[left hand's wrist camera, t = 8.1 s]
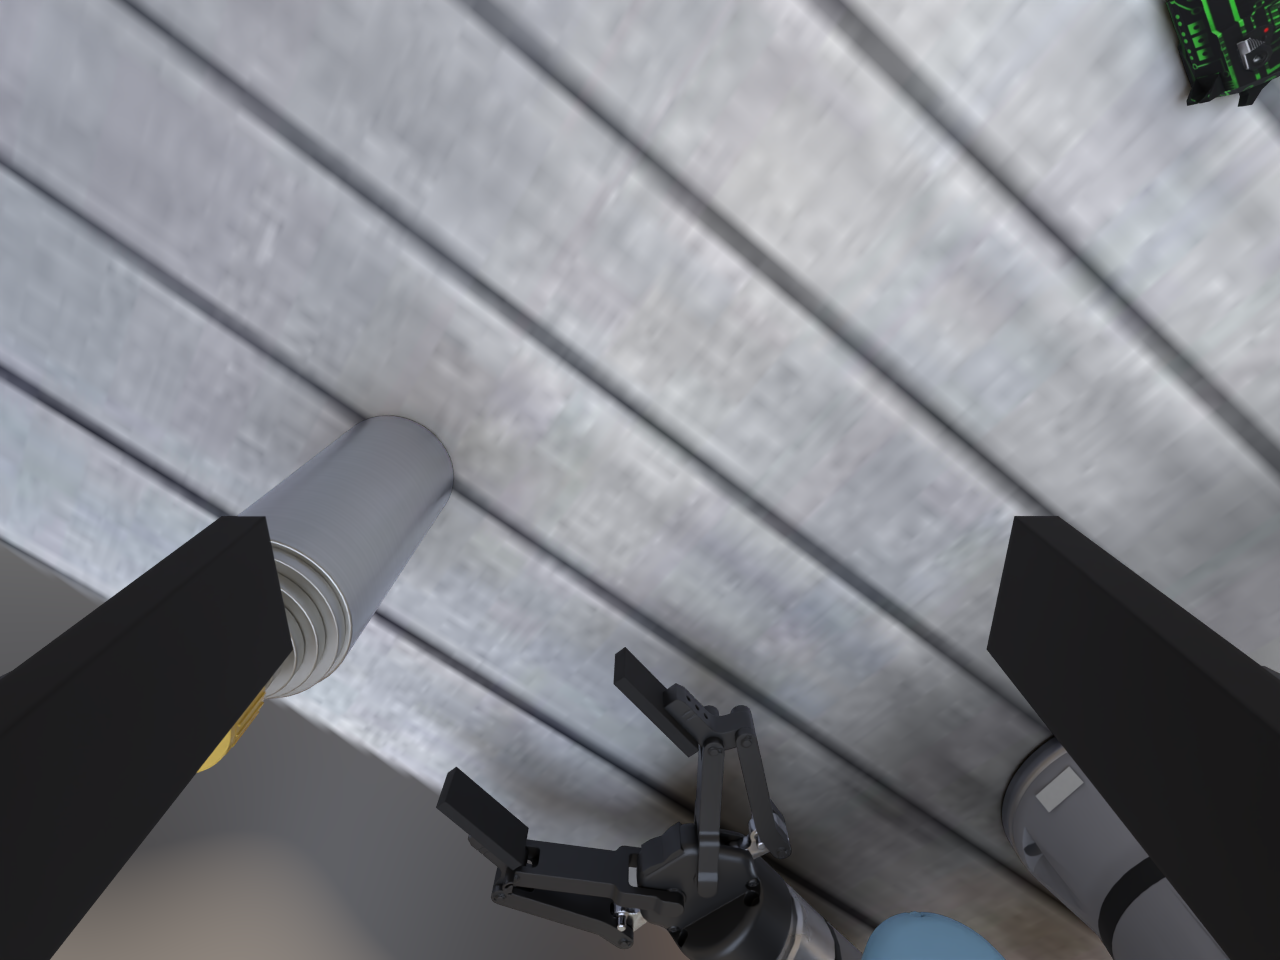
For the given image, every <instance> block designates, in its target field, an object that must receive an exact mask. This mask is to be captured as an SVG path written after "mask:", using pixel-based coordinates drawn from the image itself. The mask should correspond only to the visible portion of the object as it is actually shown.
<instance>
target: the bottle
mask: <svg viewBox="0 0 1280 960" xmlns="http://www.w3.org/2000/svg"><path fill="white" fill-rule="evenodd" d="M453 480H454V476H453V467H452V463H451V460H450V457H449V455H448V453H447V451H446V449H445V447H444V446H443V444H442V443H441V442H440V441H439V439H438V438H437V437H436V436H435V435H434V434H433V433H432V432H430V431H429V430H428V429H426V428H425V427H424V426H422V425H420V424H418V423H416V422H414V421H412V420H409V419H406V418H402V417H397V416H377V417H373V418H369V419H366V420H364V421H362V422H360V423H358V424H356V425H355V426H354V427H352V428H351V429H350V430H348V431H347V432H346V433H345V434H343V435H342V436H341V437H339V438H338V439H337V440H335V441H334V442H333V443H332V444H330V445H329V446H328V447H326V448H325V449H324V450H322V451H321V452H320V453H319V454H317V455H316V456H315V457H313V458H312V459H311V460H309V461H308V462H307V463H305V464H304V465H303V466H302V467H300V468H299V469H298V470H296V471H295V472H294V473H292V474H291V475H290V476H289V477H287V478H286V479H285V480H283V481H282V482H281V483H279V484H278V485H277V486H276V487H274V488H273V489H272V490H270V491H269V492H268V493H266V494H265V495H264V496H263V497H261V498H260V499H259V500H257V501H256V502H255V503H253V504H252V505H251V506H250V507H248V508H247V509H246V510H244V511H243V512H242V513H240V514H239V515H238V516H266V521H267V526H268V530H269V535H270V540H271V545H272V549H273V554H274V559H275V564H276V569H277V573H278V578H279V583H280V588H281V593H282V597H283V602H284V607H285V612H286V617H287V621H288V626H289V631H290V636H291V640H292V645H293V650H292V652H291V653H290V654H289V656H288V657H287V658H286V659H285V661H284V662H283V663H282V664H281V666H280V667H279V668H278V670H277V671H276V672H275V673H274V675H273V676H272V677H271V678H270V680H269V681H268V682H267V684H266V685H265V692H266V694H265V695H264V699H271V698H282V697H287V696H291V695H295V694H298V693H300V692H303V691H305V690H307V689H309V688H311V687H312V686H314V685H315V684H317V683H318V682H320V681H322V680H324V679H325V678H327V677H328V676H330V675H331V674H332V673H333V672H334V671H335V670H336V669H337V668H338V667H339V666H340V664H341V663H342V662H343V660H344V659H345V657H346V656H347V654H348V653H349V651H350V650H351V648H352V647H353V645H354V644H355V642H356V640H357V639H358V637H359V636H360V634H361V633H362V631H363V630H364V628H365V627H366V625H367V624H368V622H369V621H370V619H371V617H372V616H373V614H374V613H375V611H376V610H377V608H378V607H379V605H380V604H381V602H382V601H383V599H384V598H385V596H386V595H387V593H388V591H389V590H390V588H391V587H392V585H393V584H394V582H395V581H396V579H397V578H398V576H399V575H400V573H401V572H402V570H403V568H404V567H405V565H406V564H407V562H408V561H409V559H410V558H411V556H412V555H413V553H414V552H415V550H416V549H417V547H418V546H419V544H420V542H421V541H422V539H423V538H424V536H425V535H426V533H427V532H428V530H429V529H430V527H431V526H432V524H433V523H434V521H435V519H436V518H437V516H438V515H439V513H440V512H441V510H442V509H443V507H444V506H445V504H446V502H447V501H448V499H449V497H450V494H451V492H452V488H453Z"/></svg>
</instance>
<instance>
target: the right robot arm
mask: <svg viewBox="0 0 1280 960" xmlns="http://www.w3.org/2000/svg"><path fill="white" fill-rule="evenodd" d="M614 685H615V686H616V687H617V688H618V689H619V690H620V691H621V692H622V693H623V694H624V695H625V696H626V697H627V698H629V699H630V700H631V701H632V702H633V703H634V704H635V705H636V706H637V707H638V708H639V709H640V710H641V711H642V712H643V713H644V714H645V715H646V716H647V717H648V718H649V719H650V720H651V721H652V722H653V723H654V724H655V725H656V726H657V727H658V728H659V729H660V730H661V731H662V732H663V733H664V734H665V735H666V736H667V737H668V738H669V739H670V740H671V741H672V742H673V743H674V744H675V745H676V746H677V747H678V748H680V749H681V750H682V751H683V752H684V753H685V754H686V755H687V756H688V757H690V756H691V755H693V754H695V753H696V752H698V751H699V753H698V773H697V793H696V800H695V816H694V824H693V823H688V824H683V825H682V824H681V823H680V822H678V823H676V824H675V825H673V826H671V827H670V828H669V829H668V830H667V831H666V832H665V833H664V834H663V835H662V836H659V837H656V838H653V839H650V840H649V841H647V842H646V843H644V844H642V845H641V848H638V847H630V846H621V847H619V848H618V849H617V850H616V851H611V850H603V849H596V848H588V847H580V846H573V845H565V844H557V843H550V842H542V841H535V840H527V834H528V827H527V826H526V825H524V824H523V823H522V822H521V821H520V820H519V819H517V818H516V817H515V816H514V815H513V814H511V813H510V812H509V811H508V810H507V809H506V808H504V807H503V806H502V805H501V804H500V803H499V802H497V801H496V800H495V799H494V798H493V797H491V796H490V795H489V794H488V793H487V792H486V791H484V790H483V789H482V788H481V787H480V786H479V785H477V784H476V783H475V782H474V781H473V780H471V779H470V778H469V777H468V776H467V775H466V774H464V773H463V772H462V771H461V770H460V769H459V768H457V767H455V768H454V769H453V770H451V771H450V772H448V774H447V777H446V780H445V783H444V786H443V788H442V791H441V794H440V797H439V800H438V803H437V806H436V808H437V809H438V810H440V811H441V812H442V813H443V814H445V815H446V816H447V817H448V818H450V819H451V820H452V821H453V822H454V823H456V824H457V825H458V826H459V827H461V828H462V829H463V830H464V831H465V832H467V833H468V834H469V837H468V840H469V842H470V844H471V845H472V846H473V847H474V848H475V849H476V850H479V852H480V853H481V854H483V855H484V856H485V857H486V858H487V859H489V860H490V861H491V862H492V863H494V864H495V865H496V866H497V867H498V868H497V871H496V876H495V881H494V885H493V891H492V895H491V899H492V901H493V902H495V903H497V904H499V905H503V906H506V907H509V908H512V909H516V910H519V911H522V912H526V913H529V914H532V915H536V916H539V917H542V918H545V919H549V920H552V921H555V922H558V923H561V924H565V925H568V926H572V927H575V928H578V929H581V930H584V931H588V932H591V933H594V934H598V935H600V936H601V937H603V938H604V939H606V940H607V941H609V942H610V943H612V944H613V945H615V946H616V947H618V948H620V949H628V948H630V947H631V946H632V945H633V932H634V931H635V930H637V929H638V928H639V927H641V926H642V925H643V924H645V923H646V922H647V921H648V922H649V923H652V924H655V925H659V926H661V927H664V928H665V929H667V930H668V932H669V933H670V935H671V936H672V938H673V939H674V941H675V942H676V944H677V945H678V947H679V948H680V950H681V951H682V952H683V953H684V954H685V955H686V956H687V957H688V958H689V959H690V960H1005V958H1004V957H1003V956H1002V955H1001V954H1000V953H999V952H998V951H997V950H996V949H995V948H994V947H993V946H992V945H991V944H990V943H989V942H988V941H987V940H986V939H984V938H983V937H982V936H981V935H979V934H978V933H976V932H975V931H974V930H972V929H971V928H969V927H967V926H965V925H964V924H962V923H960V922H958V921H955V920H953V919H951V918H948V917H946V916H943V915H939V914H935V913H929V912H915V911H914V912H911V913H901V914H897V915H894V916H892V917H889V918H888V919H886V920H885V921H883V922H882V923H881V924H880V925H879V926H878V927H877V928H876V929H875V930H874V931H873V933H872V934H871V936H870V938H869V940H868V942H867V945H866V947H865V950H864V953H863V954H862V953H861V952H860V951H859V950H858V949H857V948H856V947H855V946H853V945H852V944H851V943H850V942H849V941H848V940H847V939H846V938H845V937H844V936H843V935H842V934H841V933H839V932H838V931H837V930H836V929H835V928H834V927H833V926H832V925H831V924H830V923H829V922H828V921H826V920H825V919H824V918H823V917H822V916H821V915H820V914H819V913H818V912H817V911H816V910H815V909H814V908H813V907H812V906H811V905H809V904H808V903H807V902H806V901H805V900H804V899H803V898H802V897H801V896H800V895H799V894H798V893H797V892H796V891H795V890H794V889H793V888H792V887H791V886H789V885H788V884H787V883H786V882H785V881H784V880H783V878H782V877H781V876H780V875H779V874H778V873H777V872H776V871H775V870H774V869H773V868H772V867H771V866H770V865H769V864H768V863H767V862H766V861H764V860H763V859H762V858H761V857H760V856H762V855H764V854H766V853H768V852H770V853H771V854H772V855H773V856H774V857H775V858H778V859H784V858H787V857H788V856H790V854H791V846H790V842H789V837H788V833H787V829H786V825H785V820H784V817H783V815H782V814H781V812H780V811H779V810H778V809H777V807H776V806H775V805H774V803H773V802H772V801H771V799H770V797H769V792H768V788H767V783H766V779H765V774H764V770H763V765H762V760H761V756H760V751H759V747H758V742H757V738H756V733H755V728H754V724H753V719H752V715H751V711H750V709H749V708H748V707H747V706H744V705H739V706H736V707H734V708H733V709H732V711H731V714H728V715H724V716H719V712H718V710H717V708H715V707H714V706H705V707H703V706H702V705H701V704H700V703H699V702H698V701H697V700H696V699H695V698H694V697H693V696H692V695H691V694H690V693H689V692H688V691H687V690H686V689H685V688H684V687H683V686H681V685H678V684H674V685H673V686H671V687H670V688H668V689H666V688H665V687H664V686H663V685H662V684H661V683H660V682H659V681H658V680H657V679H656V678H655V677H654V676H653V675H652V674H651V673H650V672H649V671H648V670H647V669H646V668H645V667H644V666H643V665H642V664H641V663H640V662H639V660H638V659H637V658H636V657H635V656H634V655H633V654H632V653H631V652H630V651H629V650H628V649H627V648H626V647H625V648H623V649H622V650H620V651H619V652H618V653H616V654H615V668H614ZM698 744H699V746H698ZM735 747H737V751H738V755H739V759H740V764H741V768H742V772H743V777H744V781H745V785H746V789H747V794H748V798H749V802H750V807H751V811H752V814H751V818H752V819H751V820H750V821H749V822H748V829H749V833H748V835H747V836H744V835H743V834H741V833H739V832H735V831H730V830H724V829H720V814H721V799H722V784H723V769H724V753H725V750H728V749H732V748H735ZM1002 820H1003V826H1004V830H1005V833H1006V836H1007V838H1008V840H1009V841H1010V843H1011V845H1012V847H1013V848H1014V850H1015V852H1016V854H1017V855H1018V857H1019V859H1020V860H1021V862H1022V863H1023V864H1024V866H1025V867H1026V868H1027V869H1028V870H1029V871H1030V873H1031V874H1032V875H1033V876H1034V877H1035V878H1036V879H1037V880H1038V881H1039V882H1040V883H1041V884H1042V885H1044V886H1045V887H1046V888H1047V889H1048V890H1049V891H1050V892H1051V893H1052V894H1053V895H1054V896H1056V897H1057V898H1058V899H1059V900H1060V901H1061V902H1062V903H1063V904H1064V905H1065V906H1067V907H1068V908H1069V909H1070V910H1071V911H1072V912H1073V913H1074V914H1075V915H1076V916H1077V917H1079V918H1080V919H1081V920H1082V921H1083V922H1084V923H1085V924H1086V925H1087V926H1088V927H1090V928H1091V929H1092V930H1093V931H1094V932H1095V933H1096V934H1097V935H1098V936H1099V938H1100V939H1101V941H1102V942H1103V944H1104V945H1105V947H1106V948H1107V950H1108V952H1109V953H1110V955H1111V956H1112V958H1113V960H1230V959H1229V958H1228V956H1227V955H1226V954H1225V952H1224V951H1223V950H1222V949H1221V947H1220V946H1219V945H1218V944H1217V942H1216V941H1215V940H1214V938H1213V937H1212V936H1211V935H1210V933H1209V932H1208V931H1207V930H1206V928H1205V927H1204V926H1203V924H1202V923H1201V922H1200V921H1199V919H1198V918H1197V917H1196V915H1195V914H1194V913H1193V912H1192V910H1191V909H1190V908H1189V907H1188V905H1187V904H1186V903H1185V901H1184V900H1183V899H1182V898H1181V896H1180V895H1179V894H1178V893H1177V891H1176V890H1175V889H1174V887H1173V886H1172V885H1171V884H1170V882H1169V881H1168V880H1167V879H1166V877H1165V876H1164V875H1163V873H1162V872H1161V871H1160V870H1159V868H1158V867H1157V866H1156V865H1155V863H1154V862H1153V861H1152V859H1151V858H1150V857H1149V856H1148V854H1147V853H1146V852H1145V851H1144V849H1143V848H1142V847H1141V845H1140V844H1139V843H1138V842H1137V840H1136V839H1135V838H1134V836H1133V835H1132V834H1131V833H1130V831H1129V830H1128V829H1127V828H1126V826H1125V825H1124V824H1123V822H1122V821H1121V820H1120V819H1119V817H1118V816H1117V815H1116V814H1115V812H1114V811H1113V810H1112V808H1111V807H1110V806H1109V805H1108V803H1107V802H1106V801H1105V800H1104V798H1103V797H1102V796H1101V794H1100V793H1099V792H1098V791H1097V789H1096V788H1095V787H1094V786H1093V784H1092V783H1091V782H1090V780H1089V779H1088V778H1087V777H1086V775H1085V774H1084V773H1083V772H1082V770H1081V769H1080V768H1079V766H1078V765H1077V764H1076V763H1075V761H1074V760H1073V759H1072V757H1071V756H1070V755H1069V754H1068V752H1067V751H1066V750H1065V749H1064V747H1063V746H1062V745H1061V743H1060V742H1059V741H1058V740H1057V738H1056V737H1054V738H1052V739H1051V740H1049V741H1048V742H1046V743H1045V744H1044V745H1042V746H1041V747H1040V748H1038V749H1037V750H1036V751H1035V752H1034V753H1033V754H1032V755H1031V756H1030V757H1029V758H1028V759H1027V760H1026V761H1025V762H1024V763H1023V764H1022V766H1021V767H1020V768H1019V769H1018V771H1017V772H1016V774H1015V775H1014V777H1013V778H1012V780H1011V782H1010V784H1009V786H1008V789H1007V791H1006V794H1005V797H1004V801H1003V807H1002ZM527 860H530V861H531V862H532V865H531V864H528V863H527ZM629 867H636V868H637V886H638V887H633V886H631V885H630V884H629V882H628V874H629Z"/></svg>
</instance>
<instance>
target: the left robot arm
mask: <svg viewBox="0 0 1280 960" xmlns="http://www.w3.org/2000/svg"><path fill="white" fill-rule="evenodd" d="M292 650H293V645H292V640H291V636H290V631H289V626H288V621H287V617H286V612H285V607H284V602H283V597H282V593H281V588H280V583H279V578H278V573H277V569H276V564H275V559H274V554H273V549H272V545H271V540H270V535H269V530H268V526H267V521H266V516H221V517H220V518H219V519H217V520H216V521H215V522H213V523H212V524H211V525H209V526H208V527H207V528H205V529H204V530H202V531H201V532H200V533H198V534H197V535H196V536H194V537H193V538H192V539H190V540H189V541H188V542H186V543H185V544H183V545H182V546H181V547H179V548H178V549H177V550H175V551H174V552H173V553H171V554H170V555H169V556H167V557H166V558H165V559H163V560H162V561H160V562H159V563H158V564H156V565H155V566H154V567H152V568H151V569H150V570H148V571H147V572H146V573H144V574H143V575H141V576H140V577H139V578H137V579H136V580H135V581H133V582H132V583H131V584H129V585H128V586H127V587H125V588H124V589H122V590H121V591H120V592H118V593H117V594H116V595H114V596H113V597H112V598H110V599H109V600H108V601H106V602H105V603H104V604H102V605H101V606H99V607H98V608H97V609H95V610H94V611H93V612H91V613H90V614H89V615H87V616H86V617H85V618H83V619H82V620H80V621H79V622H78V623H76V624H75V625H74V626H72V627H71V628H70V629H68V630H67V631H66V632H64V633H63V634H61V635H60V636H59V637H58V638H56V639H55V640H53V641H52V642H51V643H49V644H48V645H47V646H45V647H44V648H43V649H41V650H40V651H39V652H37V653H36V654H34V655H33V656H32V657H30V658H29V659H28V660H26V661H25V662H24V663H22V664H21V665H20V666H18V667H17V668H15V669H14V670H13V671H11V672H9V673H7V674H5V675H3V676H1V677H0V960H50V959H51V957H52V956H53V955H54V954H55V952H56V951H57V950H58V949H59V947H60V946H61V945H62V944H63V942H64V941H65V940H66V938H67V937H68V936H69V935H70V933H71V932H72V931H73V929H74V928H75V927H76V926H77V924H78V923H79V922H80V921H81V919H82V918H83V917H84V915H85V914H86V913H87V912H88V910H89V909H90V908H91V907H92V905H93V904H94V903H95V901H96V900H97V899H98V898H99V896H100V895H101V894H102V893H103V891H104V890H105V889H106V887H107V886H108V885H109V884H110V882H111V881H112V880H113V879H114V877H115V876H116V875H117V873H118V872H119V871H120V870H121V868H122V867H123V866H124V864H125V863H126V862H127V861H128V859H129V858H130V857H131V856H132V854H133V853H134V852H135V851H136V849H137V848H138V847H139V845H140V844H141V843H142V842H143V840H144V839H145V838H146V836H147V835H148V834H149V833H150V831H151V830H152V829H153V828H154V826H155V825H156V824H157V822H158V821H159V820H160V819H161V817H162V816H163V815H164V814H165V812H166V811H167V810H168V808H169V807H170V806H171V805H172V803H173V802H174V801H175V800H176V798H177V797H178V796H179V794H180V793H181V792H182V791H183V789H184V788H185V787H186V786H187V784H188V783H189V782H190V780H191V779H192V778H193V776H194V775H195V774H196V773H197V772H198V770H199V769H200V768H201V766H202V765H203V764H204V763H205V761H206V760H207V759H208V757H209V756H210V755H211V754H212V752H213V751H214V750H215V749H216V747H217V746H218V745H219V743H220V742H221V741H222V740H223V738H224V737H225V736H226V735H227V733H228V732H229V731H230V729H231V728H232V727H233V726H234V724H235V723H236V722H237V721H238V719H239V718H240V717H241V715H242V714H243V713H244V712H245V710H246V709H247V708H248V707H249V705H250V704H251V703H252V701H253V700H254V699H255V698H256V696H257V695H258V694H259V693H260V691H261V690H262V689H263V687H264V686H265V685H266V684H267V682H268V681H269V680H270V678H271V677H272V676H273V675H274V673H275V672H276V671H277V670H278V668H279V667H280V666H281V664H282V663H283V662H284V661H285V659H286V658H287V657H288V656H289V654H290V653H291V652H292ZM987 650H988V652H989V653H990V654H991V656H992V657H993V658H994V659H995V661H996V662H997V663H998V664H999V666H1000V667H1001V668H1002V670H1003V671H1004V672H1005V673H1006V675H1007V676H1008V677H1009V678H1010V680H1011V681H1012V682H1013V684H1014V685H1015V686H1016V687H1017V689H1018V690H1019V691H1020V693H1021V694H1022V695H1023V696H1024V698H1025V699H1026V700H1027V701H1028V703H1029V704H1030V705H1031V707H1032V708H1033V709H1034V710H1035V712H1036V713H1037V714H1038V715H1039V717H1040V718H1041V719H1042V721H1043V722H1044V723H1045V724H1046V726H1047V727H1048V728H1049V729H1050V731H1051V732H1052V733H1053V735H1054V736H1055V737H1056V738H1057V740H1058V741H1059V742H1060V743H1061V745H1062V746H1063V747H1064V749H1065V750H1066V751H1067V752H1068V754H1069V755H1070V756H1071V757H1072V759H1073V760H1074V761H1075V763H1076V764H1077V765H1078V766H1079V768H1080V769H1081V770H1082V772H1083V773H1084V774H1085V775H1086V777H1087V778H1088V779H1089V780H1090V782H1091V783H1092V784H1093V786H1094V787H1095V788H1096V789H1097V791H1098V792H1099V793H1100V794H1101V796H1102V797H1103V798H1104V800H1105V801H1106V802H1107V803H1108V805H1109V806H1110V807H1111V808H1112V810H1113V811H1114V812H1115V814H1116V815H1117V816H1118V817H1119V819H1120V820H1121V821H1122V822H1123V824H1124V825H1125V826H1126V828H1127V829H1128V830H1129V831H1130V833H1131V834H1132V835H1133V836H1134V838H1135V839H1136V840H1137V842H1138V843H1139V844H1140V845H1141V847H1142V848H1143V849H1144V851H1145V852H1146V853H1147V854H1148V856H1149V857H1150V858H1151V859H1152V861H1153V862H1154V863H1155V865H1156V866H1157V867H1158V868H1159V870H1160V871H1161V872H1162V873H1163V875H1164V876H1165V877H1166V879H1167V880H1168V881H1169V882H1170V884H1171V885H1172V886H1173V887H1174V889H1175V890H1176V891H1177V893H1178V894H1179V895H1180V896H1181V898H1182V899H1183V900H1184V901H1185V903H1186V904H1187V905H1188V907H1189V908H1190V909H1191V910H1192V912H1193V913H1194V914H1195V915H1196V917H1197V918H1198V919H1199V921H1200V922H1201V923H1202V924H1203V926H1204V927H1205V928H1206V930H1207V931H1208V932H1209V933H1210V935H1211V936H1212V937H1213V938H1214V940H1215V941H1216V942H1217V944H1218V945H1219V946H1220V947H1221V949H1222V950H1223V951H1224V952H1225V954H1226V955H1227V956H1228V958H1229V959H1230V960H1280V673H1277V672H1275V671H1273V670H1271V669H1269V668H1267V667H1265V666H1261V665H1259V664H1258V663H1256V662H1255V661H1254V660H1252V659H1251V658H1250V657H1248V656H1247V655H1246V654H1244V653H1243V652H1242V651H1240V650H1239V649H1237V648H1236V647H1235V646H1233V645H1232V644H1231V643H1229V642H1228V641H1227V640H1225V639H1224V638H1223V637H1221V636H1220V635H1219V634H1217V633H1216V632H1214V631H1213V630H1212V629H1210V628H1209V627H1208V626H1206V625H1205V624H1204V623H1202V622H1201V621H1200V620H1198V619H1197V618H1195V617H1194V616H1193V615H1191V614H1190V613H1189V612H1187V611H1186V610H1185V609H1183V608H1182V607H1181V606H1179V605H1178V604H1176V603H1175V602H1174V601H1172V600H1171V599H1170V598H1168V597H1167V596H1166V595H1164V594H1163V593H1162V592H1160V591H1159V590H1158V589H1156V588H1155V587H1153V586H1152V585H1151V584H1149V583H1148V582H1147V581H1145V580H1144V579H1143V578H1141V577H1140V576H1139V575H1137V574H1136V573H1134V572H1133V571H1132V570H1130V569H1129V568H1128V567H1126V566H1125V565H1124V564H1122V563H1121V562H1120V561H1118V560H1117V559H1115V558H1114V557H1113V556H1111V555H1110V554H1109V553H1107V552H1106V551H1105V550H1103V549H1102V548H1101V547H1099V546H1098V545H1097V544H1095V543H1094V542H1092V541H1091V540H1090V539H1088V538H1087V537H1086V536H1084V535H1083V534H1082V533H1080V532H1079V531H1078V530H1076V529H1075V528H1073V527H1072V526H1071V525H1069V524H1068V523H1067V522H1065V521H1064V520H1063V519H1061V518H1060V517H1059V516H1014V521H1013V526H1012V530H1011V535H1010V540H1009V545H1008V549H1007V554H1006V559H1005V564H1004V569H1003V573H1002V578H1001V583H1000V588H999V593H998V597H997V602H996V607H995V612H994V617H993V621H992V626H991V631H990V636H989V640H988V645H987Z"/></svg>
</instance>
